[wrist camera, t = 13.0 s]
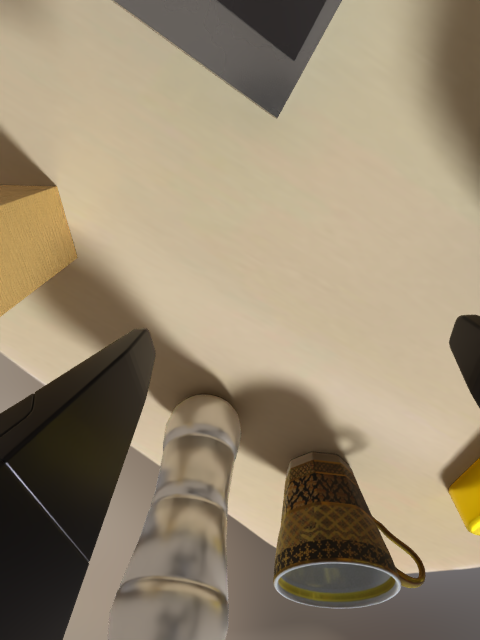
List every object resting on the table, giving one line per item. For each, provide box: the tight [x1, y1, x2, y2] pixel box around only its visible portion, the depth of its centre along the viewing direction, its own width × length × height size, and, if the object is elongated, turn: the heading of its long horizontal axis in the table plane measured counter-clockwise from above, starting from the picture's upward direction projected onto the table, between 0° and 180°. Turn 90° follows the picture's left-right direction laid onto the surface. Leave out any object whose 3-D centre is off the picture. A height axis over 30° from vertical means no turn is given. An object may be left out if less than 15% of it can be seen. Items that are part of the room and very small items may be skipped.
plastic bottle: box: [108, 395, 241, 640], centre depth 21 cm, size 6×7×20 cm
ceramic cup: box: [273, 452, 425, 608], centre depth 29 cm, size 13×10×10 cm
